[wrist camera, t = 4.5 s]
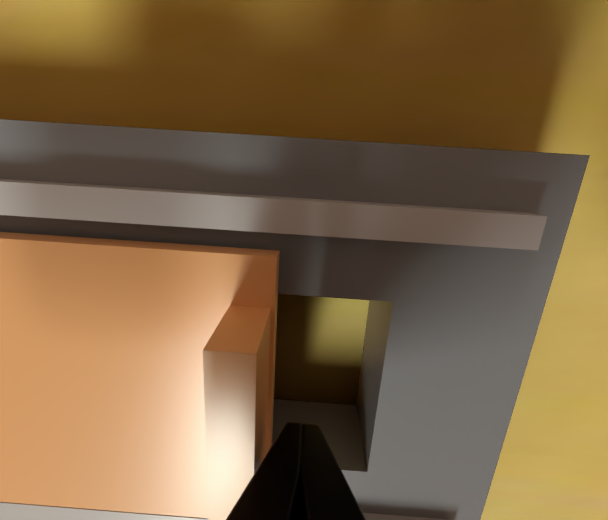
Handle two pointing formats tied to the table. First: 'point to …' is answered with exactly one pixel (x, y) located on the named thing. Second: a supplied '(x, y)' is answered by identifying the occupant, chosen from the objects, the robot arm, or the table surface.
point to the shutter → (134, 373)
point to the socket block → (340, 275)
